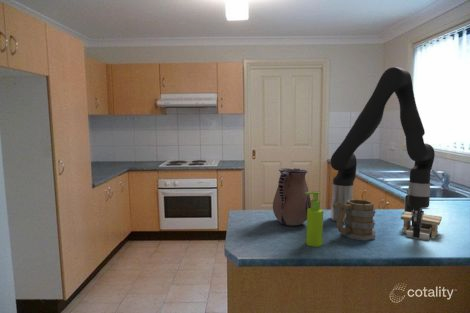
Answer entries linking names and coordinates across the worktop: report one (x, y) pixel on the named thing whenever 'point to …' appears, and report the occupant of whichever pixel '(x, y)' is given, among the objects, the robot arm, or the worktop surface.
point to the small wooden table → (427, 222)
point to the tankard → (356, 219)
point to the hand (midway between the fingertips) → (416, 236)
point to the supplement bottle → (407, 207)
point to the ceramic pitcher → (291, 197)
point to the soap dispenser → (314, 222)
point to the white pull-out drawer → (423, 233)
